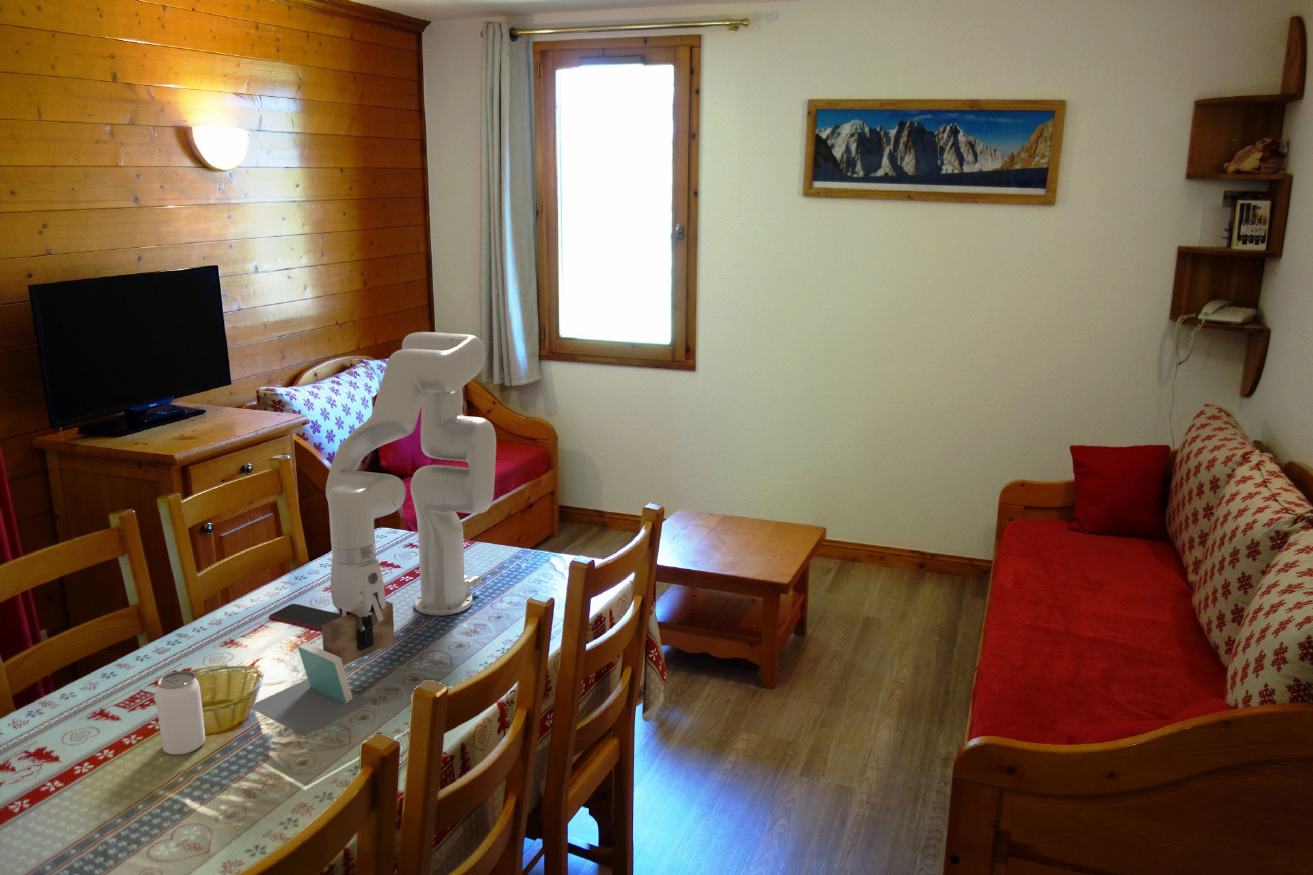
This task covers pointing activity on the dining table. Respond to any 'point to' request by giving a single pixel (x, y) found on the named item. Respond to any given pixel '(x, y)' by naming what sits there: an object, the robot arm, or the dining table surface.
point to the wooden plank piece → (344, 635)
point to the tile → (325, 672)
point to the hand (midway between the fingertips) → (359, 644)
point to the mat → (306, 707)
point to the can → (180, 713)
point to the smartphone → (304, 616)
